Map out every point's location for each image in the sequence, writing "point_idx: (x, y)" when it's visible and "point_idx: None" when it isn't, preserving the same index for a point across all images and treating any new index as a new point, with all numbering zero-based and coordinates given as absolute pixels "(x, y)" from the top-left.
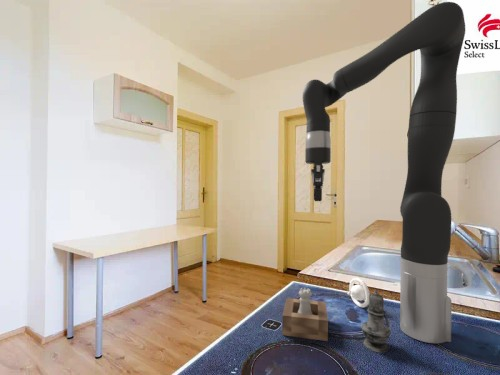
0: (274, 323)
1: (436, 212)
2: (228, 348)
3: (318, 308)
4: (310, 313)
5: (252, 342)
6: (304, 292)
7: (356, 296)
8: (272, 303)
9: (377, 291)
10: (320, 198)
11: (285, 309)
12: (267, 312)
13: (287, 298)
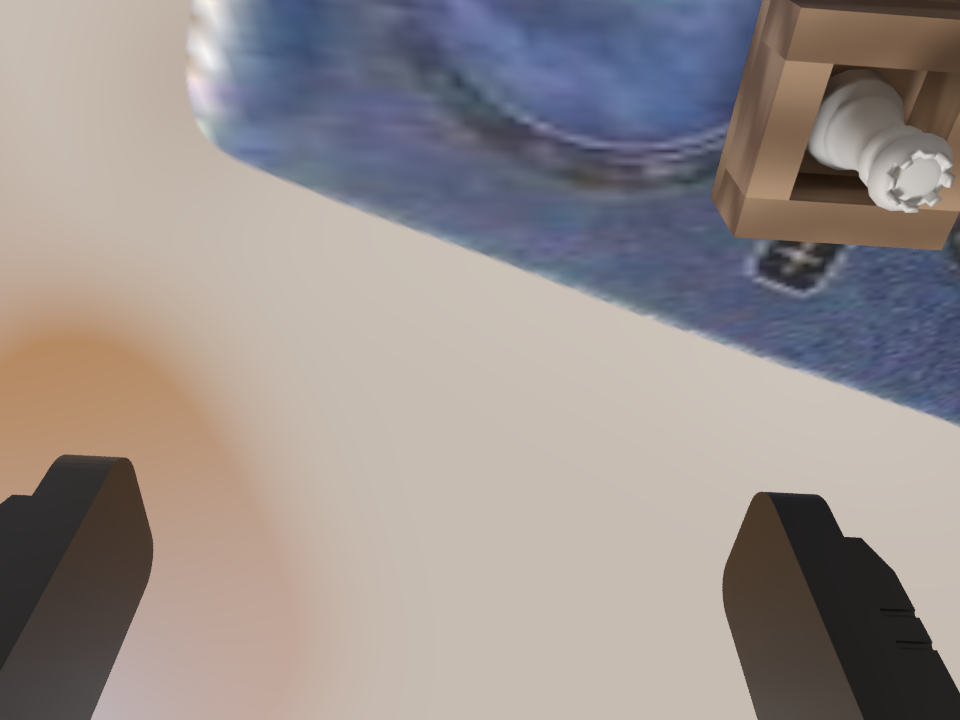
0: (792, 245)
1: None
2: (956, 376)
3: (890, 65)
4: (893, 106)
5: (933, 311)
6: (937, 184)
7: None
8: (578, 266)
9: None
10: (825, 545)
11: (878, 239)
12: (683, 281)
13: (741, 232)
